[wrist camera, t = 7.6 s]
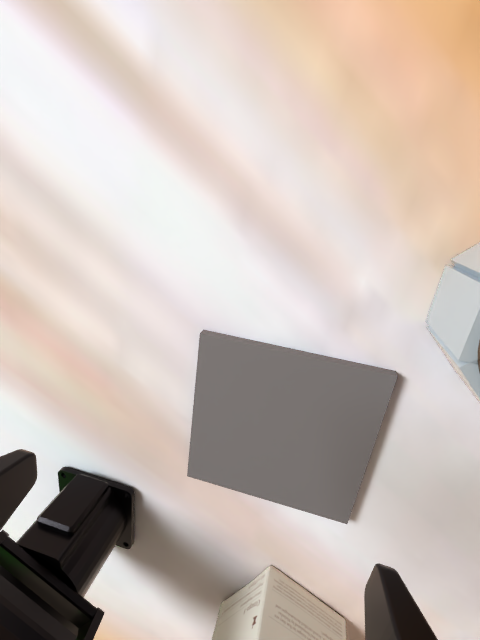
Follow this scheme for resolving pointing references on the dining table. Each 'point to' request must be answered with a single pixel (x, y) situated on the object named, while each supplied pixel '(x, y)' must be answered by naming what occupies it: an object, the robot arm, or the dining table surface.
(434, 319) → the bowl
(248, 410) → the mat
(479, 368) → the tan rounded dome
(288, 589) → the supplement box
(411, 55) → the dining table surface
